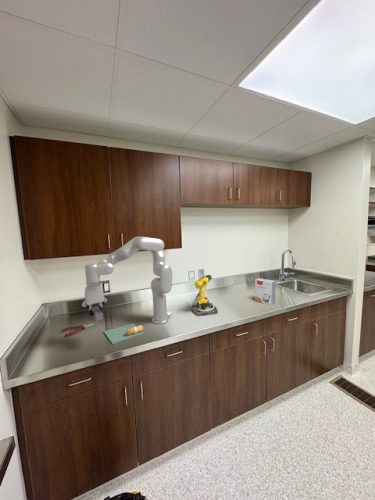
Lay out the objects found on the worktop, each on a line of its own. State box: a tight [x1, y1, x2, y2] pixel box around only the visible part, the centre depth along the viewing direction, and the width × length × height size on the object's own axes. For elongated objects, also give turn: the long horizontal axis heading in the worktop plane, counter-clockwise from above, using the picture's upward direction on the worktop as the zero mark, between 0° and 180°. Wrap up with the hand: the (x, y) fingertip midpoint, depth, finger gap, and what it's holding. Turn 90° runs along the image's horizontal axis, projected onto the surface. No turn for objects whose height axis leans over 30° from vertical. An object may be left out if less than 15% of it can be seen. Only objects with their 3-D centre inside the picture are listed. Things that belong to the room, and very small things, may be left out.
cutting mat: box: [103, 322, 145, 345], centre depth 136 cm, size 20×19×5 cm
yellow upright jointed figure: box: [191, 274, 219, 316], centre depth 169 cm, size 18×19×28 cm
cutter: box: [91, 305, 104, 322], centre depth 124 cm, size 4×13×4 cm, turn 36°
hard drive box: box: [254, 277, 276, 306], centre depth 184 cm, size 16×8×20 cm, turn 42°
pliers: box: [60, 322, 96, 338], centre depth 144 cm, size 12×20×3 cm, turn 133°
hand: (96, 314), depth 126 cm, fingers closed on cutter, 4 cm apart
